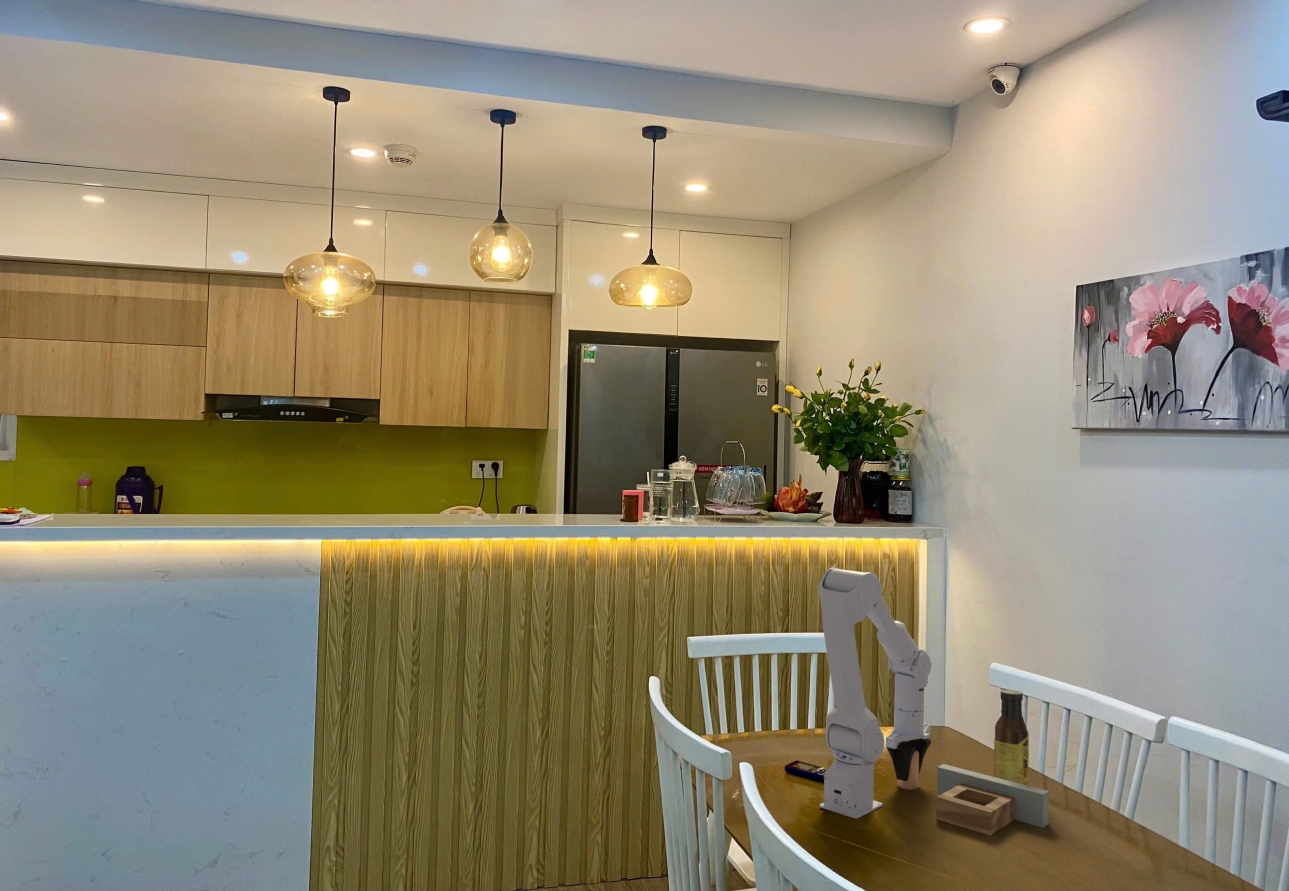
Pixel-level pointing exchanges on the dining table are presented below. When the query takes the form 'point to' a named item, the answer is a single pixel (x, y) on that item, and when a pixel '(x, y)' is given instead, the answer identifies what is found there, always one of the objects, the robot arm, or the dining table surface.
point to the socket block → (975, 809)
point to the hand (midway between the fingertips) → (907, 776)
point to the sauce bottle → (1011, 740)
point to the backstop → (1000, 792)
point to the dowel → (911, 774)
